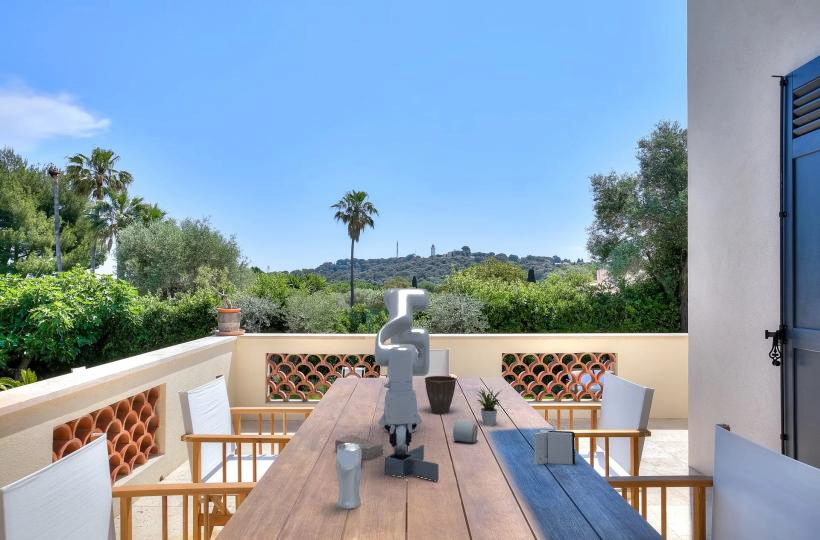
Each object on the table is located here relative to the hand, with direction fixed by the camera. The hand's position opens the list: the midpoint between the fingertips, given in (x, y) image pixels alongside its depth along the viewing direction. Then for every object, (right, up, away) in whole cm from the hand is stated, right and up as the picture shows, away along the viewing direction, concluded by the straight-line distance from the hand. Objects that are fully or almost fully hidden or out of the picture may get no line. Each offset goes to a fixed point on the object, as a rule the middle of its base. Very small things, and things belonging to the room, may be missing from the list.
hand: (400, 444), depth 154 cm
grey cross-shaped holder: (+7, -9, +1) cm, 11 cm away
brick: (-15, -10, +19) cm, 26 cm away
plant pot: (+18, -13, +80) cm, 83 cm away
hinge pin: (0, -2, 0) cm, 2 cm away
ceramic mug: (+24, -11, +34) cm, 43 cm away
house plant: (+36, -12, +58) cm, 70 cm away
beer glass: (-13, -7, -24) cm, 28 cm away
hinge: (+51, -9, +9) cm, 52 cm away
